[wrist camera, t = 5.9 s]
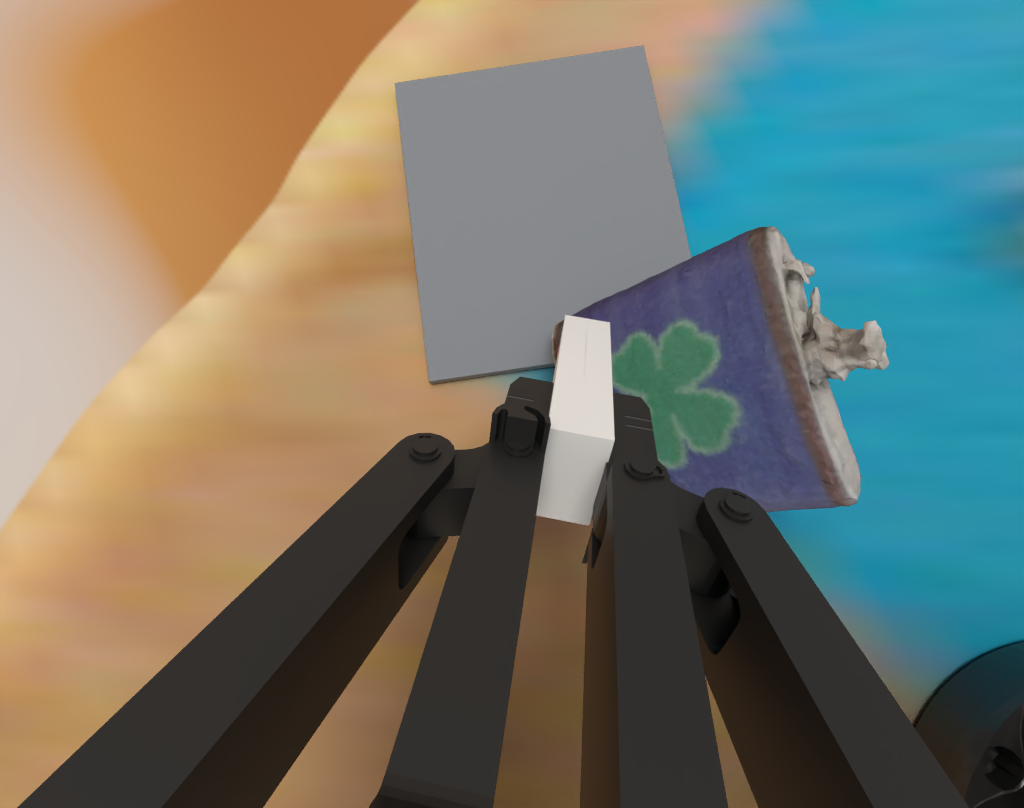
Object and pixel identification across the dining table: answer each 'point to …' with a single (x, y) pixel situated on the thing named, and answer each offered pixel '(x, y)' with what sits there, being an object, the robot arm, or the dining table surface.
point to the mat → (532, 202)
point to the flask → (740, 373)
